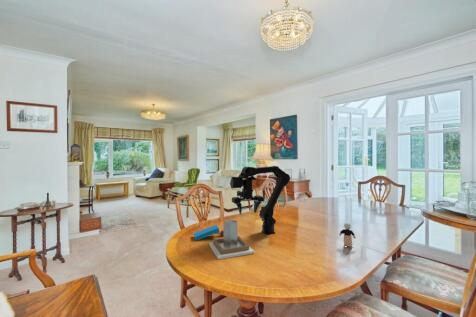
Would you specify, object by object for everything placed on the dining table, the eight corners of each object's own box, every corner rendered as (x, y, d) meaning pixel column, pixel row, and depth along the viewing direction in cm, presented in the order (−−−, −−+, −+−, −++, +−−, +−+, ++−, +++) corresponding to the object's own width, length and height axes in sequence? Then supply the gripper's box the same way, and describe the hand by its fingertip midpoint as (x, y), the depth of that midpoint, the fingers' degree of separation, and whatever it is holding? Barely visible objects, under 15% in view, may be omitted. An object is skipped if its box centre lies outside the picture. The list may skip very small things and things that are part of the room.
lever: (197, 248, 126) (227, 236, 131) (194, 237, 126) (224, 225, 130) (196, 244, 133) (225, 232, 138) (193, 233, 132) (222, 222, 137)
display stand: (240, 240, 126) (240, 234, 126) (253, 253, 109) (253, 246, 109) (209, 244, 120) (209, 238, 120) (218, 259, 103) (218, 252, 103)
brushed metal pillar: (230, 243, 118) (230, 219, 118) (237, 246, 115) (237, 221, 114) (223, 246, 114) (223, 221, 114) (230, 249, 111) (230, 223, 111)
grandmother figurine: (354, 246, 118) (354, 222, 118) (355, 249, 114) (356, 224, 114) (338, 244, 120) (338, 220, 120) (339, 247, 117) (339, 222, 117)
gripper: (256, 185, 145) (256, 209, 145) (228, 186, 138) (228, 211, 138) (264, 187, 134) (264, 213, 134) (234, 189, 128) (234, 216, 128)
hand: (247, 213), depth 134 cm, fingers open, 9 cm apart
